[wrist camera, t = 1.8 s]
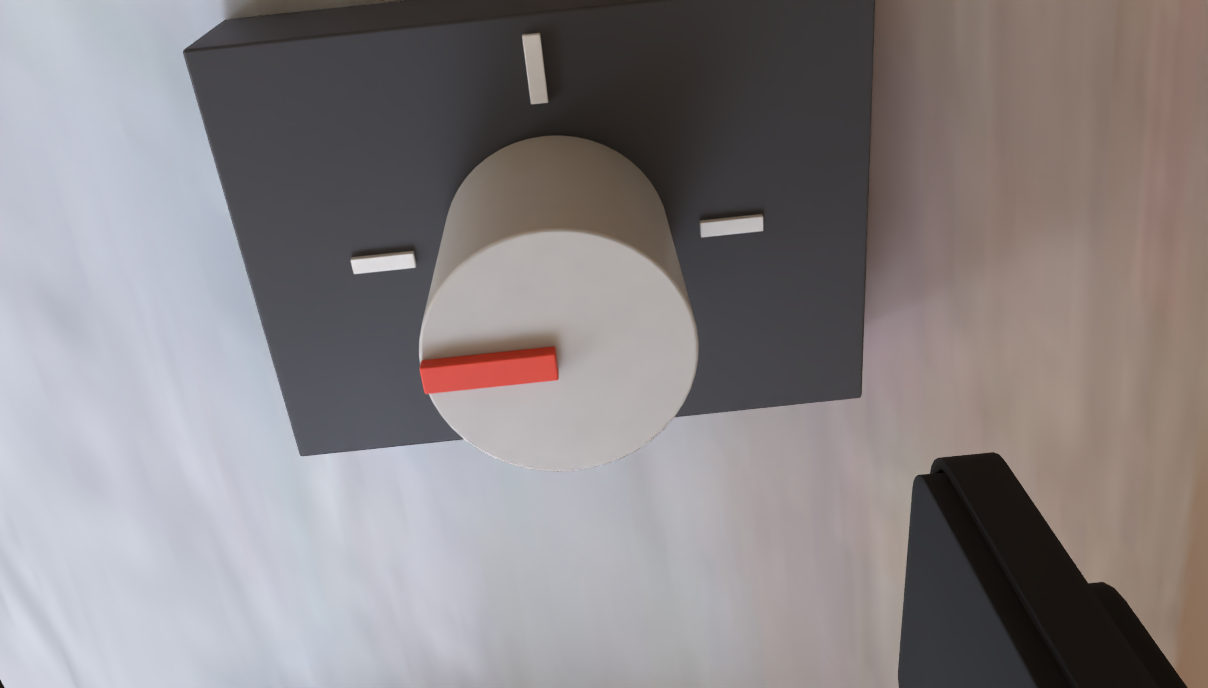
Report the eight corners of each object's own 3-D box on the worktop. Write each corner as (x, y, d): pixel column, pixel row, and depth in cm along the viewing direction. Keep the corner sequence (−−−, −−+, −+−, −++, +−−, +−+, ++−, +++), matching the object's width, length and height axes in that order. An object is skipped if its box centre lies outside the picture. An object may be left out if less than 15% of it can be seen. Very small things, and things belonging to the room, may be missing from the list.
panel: (839, -47, 23) (879, -23, 20) (832, 340, 28) (863, 402, 25) (222, 19, 23) (178, 51, 20) (323, 394, 28) (298, 461, 25)
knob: (661, 122, 22) (694, 220, 17) (675, 330, 24) (707, 467, 19) (426, 147, 22) (391, 252, 17) (464, 352, 24) (442, 495, 19)
